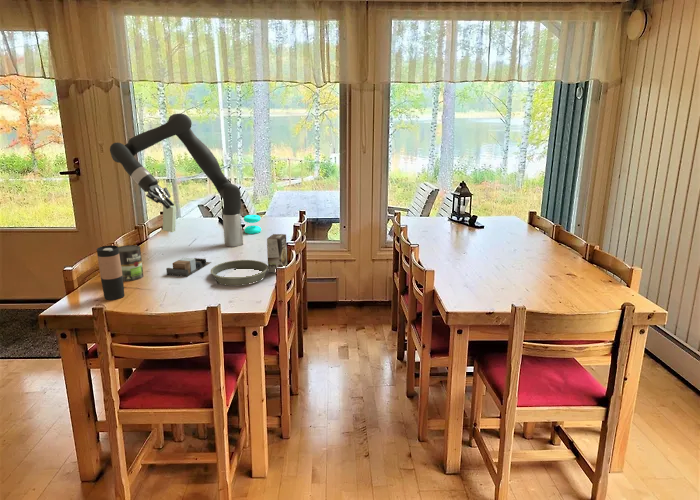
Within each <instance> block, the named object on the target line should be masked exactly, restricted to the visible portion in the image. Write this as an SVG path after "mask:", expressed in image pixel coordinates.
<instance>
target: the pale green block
mask: <svg viewBox="0 0 700 500" xmlns="http://www.w3.org/2000/svg"><path fill="white" fill-rule="evenodd" d="M176 218H177V206H176V205H174V206H172V205H170V207H169V208H168V209H166V208H165V207H164V206H163V205H162V231H164V232H167V233H175V232H176V225H177V224H176V222H177V221H176V220H177V219H176Z"/></svg>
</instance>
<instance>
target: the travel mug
mask: <svg viewBox="0 0 700 500" xmlns="http://www.w3.org/2000/svg"><path fill="white" fill-rule="evenodd" d="M118 247H119V246H118V245H103V246H100V247H97V248H96V255H97V263H98V269H99V275H100V277H99V278H100V282H101V286H102V292H103V296H104V300H107V301H116V300H117V301H118V300H120V299H122V298H124V297H125V287H124V285H125V284H124V281H123V275H122V268H121V262H120V255H119V249H118Z"/></svg>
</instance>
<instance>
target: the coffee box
mask: <svg viewBox="0 0 700 500" xmlns="http://www.w3.org/2000/svg"><path fill="white" fill-rule="evenodd" d="M266 249H267V251H266V252H267V266H268V269H267V272H268V273H269V272H274V273H273V274H276V273H275V269H276V268H277V267H283V266H286V265H287V266H288V254H287V253H288V252H287V250H288V249H287V234H284V233H281V234H279V233H277V234H276V233H273V234H272V235H270V236H269V237H267V238H266Z"/></svg>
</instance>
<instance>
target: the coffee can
mask: <svg viewBox="0 0 700 500" xmlns="http://www.w3.org/2000/svg"><path fill="white" fill-rule="evenodd" d="M118 249H119V255H120V262H121V268H122V275H123V282H132V281H138V280H141V279H143V278H144V267H143V260H142V252H141V246H140V245H136V244H135V245H134V244H129V245H128V244H127V245H122V246H118Z"/></svg>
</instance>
